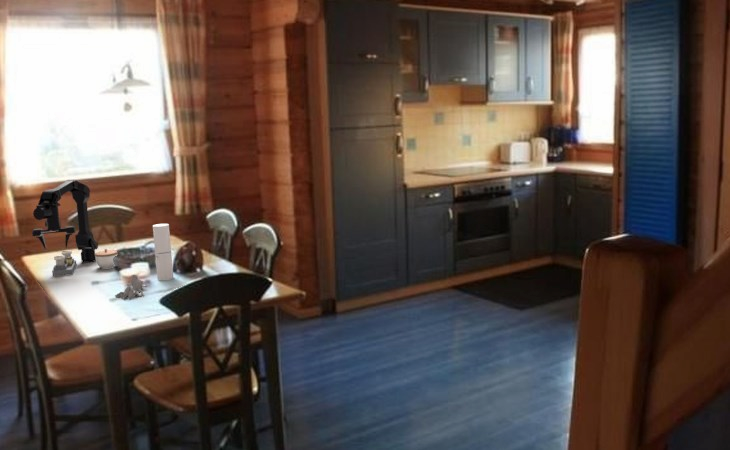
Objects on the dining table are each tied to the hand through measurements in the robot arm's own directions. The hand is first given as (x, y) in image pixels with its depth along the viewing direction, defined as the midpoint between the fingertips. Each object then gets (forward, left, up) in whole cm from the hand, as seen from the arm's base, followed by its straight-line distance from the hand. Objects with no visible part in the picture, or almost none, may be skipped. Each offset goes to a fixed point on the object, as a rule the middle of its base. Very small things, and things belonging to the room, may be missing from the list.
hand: (56, 248), depth 340 cm
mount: (-2, -5, -12) cm, 14 cm away
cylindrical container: (-49, +33, -13) cm, 61 cm away
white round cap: (-3, -11, -9) cm, 15 cm away
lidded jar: (-22, -3, -13) cm, 26 cm away
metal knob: (-5, -5, -10) cm, 12 cm away
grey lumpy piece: (-35, +55, -13) cm, 66 cm away
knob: (-1, +1, -9) cm, 9 cm away
